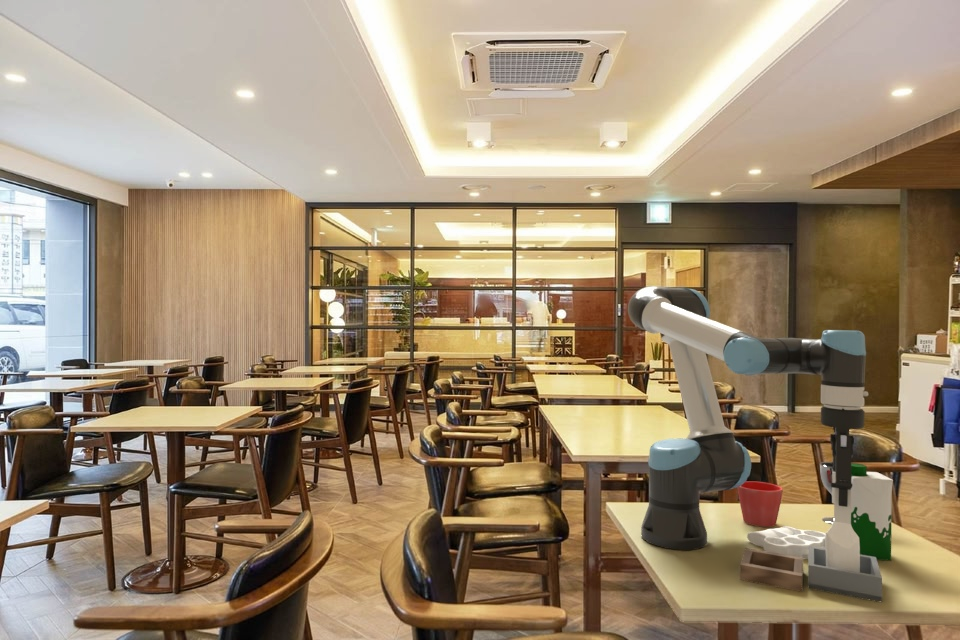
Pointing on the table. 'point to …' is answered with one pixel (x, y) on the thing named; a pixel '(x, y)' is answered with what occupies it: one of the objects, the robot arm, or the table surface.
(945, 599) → the table surface
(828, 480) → the wine glass
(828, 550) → the white tall rounded piece
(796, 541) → the white brass knuckles
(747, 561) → the holder
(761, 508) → the flower pot
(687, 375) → the robot arm
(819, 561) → the tray
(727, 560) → the table surface
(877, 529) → the milk carton
